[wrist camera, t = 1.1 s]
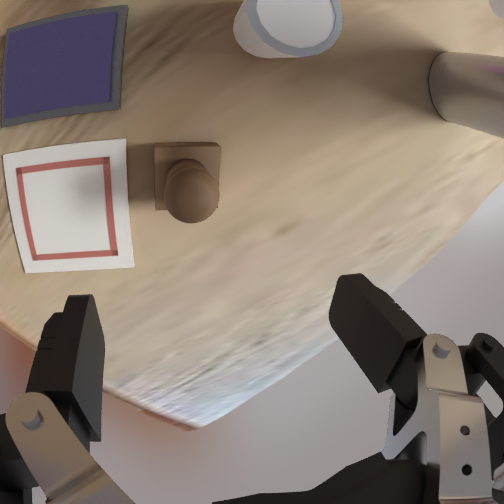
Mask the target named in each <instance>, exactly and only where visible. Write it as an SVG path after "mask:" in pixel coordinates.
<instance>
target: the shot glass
mask: <svg viewBox="0 0 504 504" xmlns="http://www.w3.org/2000/svg"><path fill="white" fill-rule="evenodd" d="M342 23H343V14H342V11H341V7H340V4H339V1H338V0H244V1H243V3H242V5H241V7H240V9H239V10H238V12H237V14H236V16H235V18H234V24H233V32H234V36H235V39H236V41H237V42H238V44H239V45H240V46H241V47H242V48H243V50H245V51H246V52H248V53H250V54H252V55H254V56H256V57H262V58H292V57H307V56H313V55H319V54H321V53H323V52H324V51H326V50H327V49H329V48H331V47H332V46H333V45H334V44H335V42H336V40H337V39H338V37H339V36H340V34H341V31H342Z"/></svg>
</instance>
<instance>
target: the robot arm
mask: <svg viewBox="0 0 504 504" xmlns="http://www.w3.org/2000/svg"><path fill="white" fill-rule="evenodd" d="M429 86H430V93H431V97H432V101H433V103H434V106H435V108H436V110H437V111H438V113H439V114H440V115H441V117H442V118H444V119H445V120H446V121H449V122H452V123H456V124H459V125H463V126H466V127H470V128H473V129H476V130H479V131H482V132H485V133H489V134H492V135H495V136H498V137H500V138H503V139H504V57H498V56H490V55H481V54H471V53H456V52H444V53H441V54H439V55H438V56H437V57H436V58H435V60H434V62H433V64H432V67H431V70H430V76H429ZM329 321H330V324H331V327H332V328H333V330H334V331H335V332H336V334H337V335H338V337H339V338H340V339H341V341H342V342H343V344H344V345H345V347H346V348H347V349H348V351H349V352H350V354H351V355H352V356H353V358H354V359H355V361H356V362H357V363H358V365H359V366H360V368H361V369H362V371H363V372H364V373H365V375H366V376H367V378H368V379H369V380H370V382H371V383H372V385H373V386H374V388H375V389H376V391H377V392H378V393H380V392H383V391H385V390H388V389H392V390H393V393H392V395H391V397H390V405H389V417H388V428H387V436H386V442H385V446H384V448H383V450H382V452H379V453H377V454H375V455H372V456H371V457H368V458H366V459H363V460H361V461H359V462H356V463H354V464H351V465H349V466H346V467H345V468H344V469H342V470H341V471H339V472H338V473H336V474H335V475H334V476H332V477H331V478H329V479H328V480H326V481H325V482H323V483H322V484H320V485H318V486H317V487H315V488H314V489H312V490H309V491H302V492H288V493H259V494H255V495H250V496H245V497H241V498H235V499H230V500H224V501H217V502H212V504H504V347H503V346H502V345H501V344H500V343H499V342H498V341H497V340H496V339H495V338H494V337H492V336H490V335H488V334H485V333H477V334H476V335H475V336H474V337H473V339H472V341H471V342H470V344H469V345H467V346H457V345H456V344H455V343H454V342H453V341H452V340H451V339H449V338H448V337H446V336H443V335H440V334H429V335H427V334H426V333H425V332H424V331H423V330H422V329H421V327H419V325H418V324H417V323H415V321H414V320H413V319H412V318H411V317H410V316H409V315H408V314H407V313H406V312H405V311H404V310H403V311H402V308H401V307H400V306H399V305H398V304H397V303H395V301H394V300H393V299H392V298H391V297H390V296H389V295H388V294H387V293H386V292H384V291H383V290H381V289H379V288H378V287H376V286H374V285H373V284H372V283H371V282H370V281H369V280H368V279H367V278H366V277H365V276H364V275H363V274H361V273H357V274H349V275H342V276H340V277H339V279H338V281H337V284H336V288H335V292H334V295H333V299H332V303H331V306H330V310H329ZM37 349H38V351H36V354H35V357H34V361H33V365H32V368H31V372H30V376H29V380H28V384H27V388H26V392H25V393H24V394H22V395H19V396H18V397H16V398H15V399H14V400H13V401H12V402H11V403H10V405H9V407H8V409H7V411H6V413H4V414H1V415H0V504H32V488H33V487H38V486H40V487H41V489H42V490H43V492H44V493H45V495H46V497H47V500H46V504H135V503H134V501H133V500H131V499H130V498H129V497H128V496H127V495H126V494H125V493H124V491H123V490H122V489H121V488H120V487H119V486H118V485H117V484H116V483H115V482H114V481H113V480H112V479H111V478H110V477H109V475H108V474H107V473H106V472H105V471H104V470H103V469H102V468H101V467H100V466H99V464H98V463H97V462H96V461H95V460H94V458H93V457H92V456H91V455H90V451H89V450H90V441H95V442H96V441H97V442H100V441H101V409H102V386H103V370H104V357H105V342H104V335H103V331H102V327H101V323H100V320H99V316H98V312H97V308H96V304H95V300H94V297H93V295H92V294H88V295H69V296H68V298H67V301H66V304H65V307H64V310H63V312H58V313H54V314H53V315H52V316H51V317H50V319H49V320H48V321H47V322H46V323H45V325H44V328H43V331H42V334H41V340H40V341H39V344H38V347H37ZM486 380H487V382H488V383H489V384H490V385H491V387H492V388H493V389H494V390H495V392H496V393H497V394H498V395H499V397H500V398H501V399H502V401H503V411H502V412H501V414H500V415H499V416H498V417H497V418H495V417H494V416H493V415H492V413H491V412H490V411H489V409H488V408H487V407H486V405H485V404H484V403H483V401H482V399H481V397H479V396H478V395H477V394H476V393H477V391H478V390H479V389H480V387H481V386H482V385H483V383H484V382H485V381H486ZM491 479H492V481H491Z"/></svg>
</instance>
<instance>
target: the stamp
mask: <svg viewBox="0 0 504 504" xmlns="http://www.w3.org/2000/svg"><path fill="white" fill-rule="evenodd" d="M220 153H221V146H219V145H218V144H217V143H215V142H190V143H156V144H155V206H156V210H168V211H169V213H170V214H171V215H172V216H173V217H174V218H176V219H177V220H179V221H182V222H185V223H197V222H201V221H203V220H205V219H207V218H208V217H209V216H211V215H212V213H213V212H214V211H215V209H216V208H218V202H219V196H220V194H219V171H220Z"/></svg>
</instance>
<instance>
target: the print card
mask: <svg viewBox="0 0 504 504" xmlns="http://www.w3.org/2000/svg"><path fill="white" fill-rule="evenodd" d="M3 162H4V171H5V179H6V186H7V193H8V199H9V205H10V211H11V216H12V221H13V226H14V230H15V235H16V239H17V243H18V247H19V251H20V255H21V259H22V262H23V266H24V269H25V273H39V272H58V271H78V270H96V269H114V268H132V267H134V257H133V248H132V239H131V228H130V216H129V202H128V184H127V155H126V138H124V139H110V140H99V141H89V142H80V143H71V144H63V145H56V146H49V147H42V148H36V149H30V150H24V151H19V152H13V153H8V154H4V155H3Z"/></svg>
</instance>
